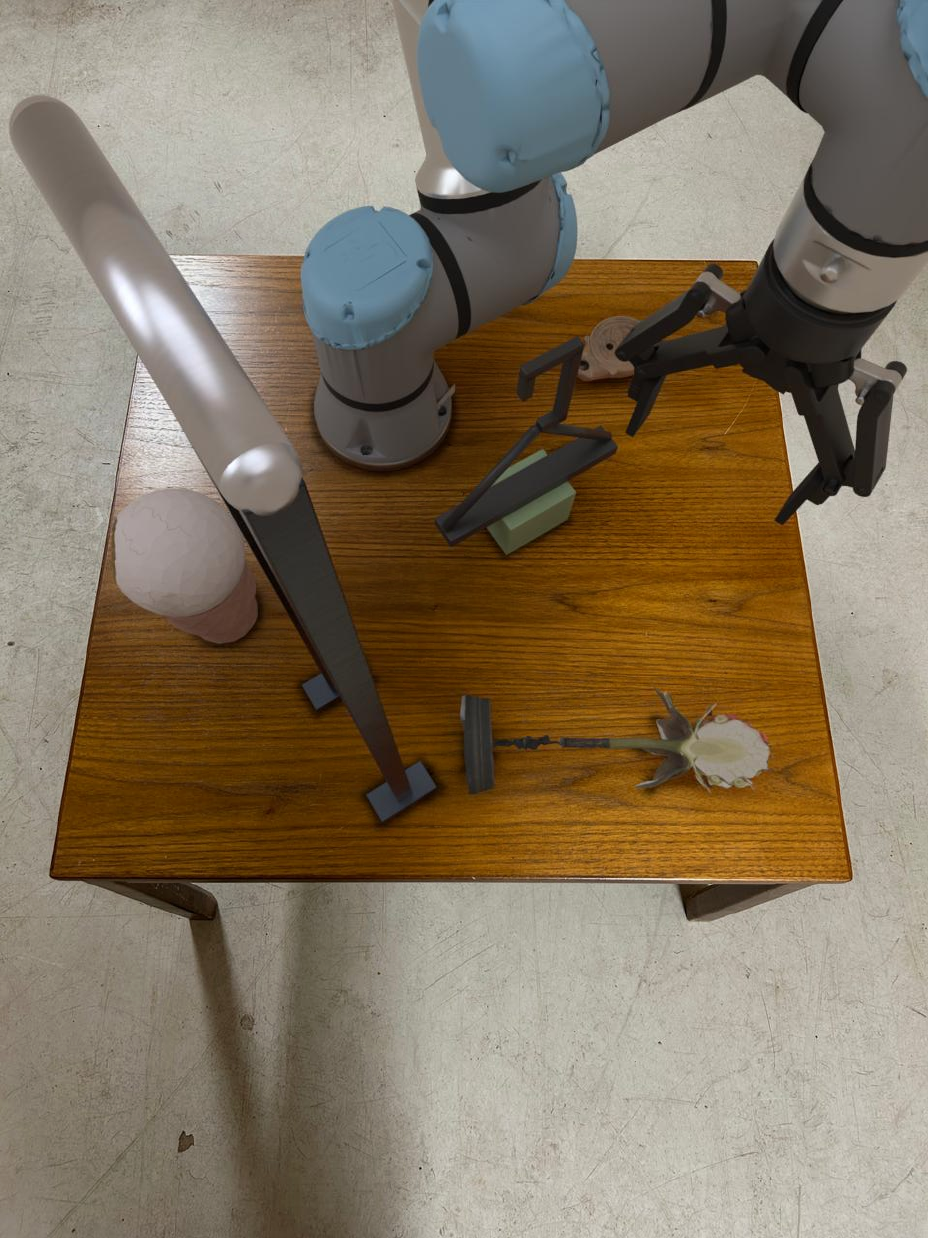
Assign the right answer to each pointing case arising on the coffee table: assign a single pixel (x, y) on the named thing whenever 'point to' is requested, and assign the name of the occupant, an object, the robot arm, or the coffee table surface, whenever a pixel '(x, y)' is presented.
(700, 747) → the ornament
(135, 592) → the ice cream cone
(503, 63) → the robot arm
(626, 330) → the oil lamp
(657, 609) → the coffee table surface
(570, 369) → the hanger
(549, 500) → the block
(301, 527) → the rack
